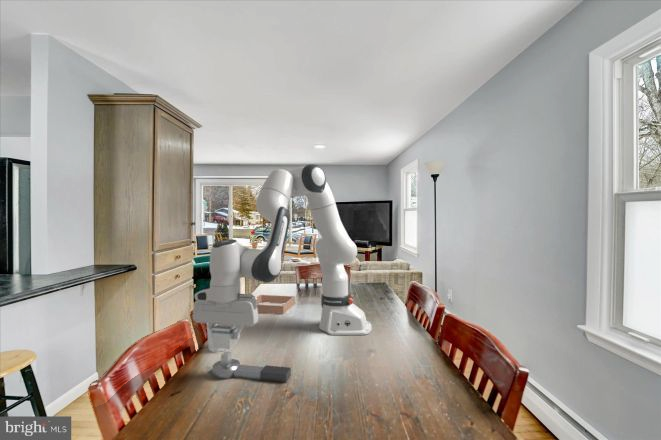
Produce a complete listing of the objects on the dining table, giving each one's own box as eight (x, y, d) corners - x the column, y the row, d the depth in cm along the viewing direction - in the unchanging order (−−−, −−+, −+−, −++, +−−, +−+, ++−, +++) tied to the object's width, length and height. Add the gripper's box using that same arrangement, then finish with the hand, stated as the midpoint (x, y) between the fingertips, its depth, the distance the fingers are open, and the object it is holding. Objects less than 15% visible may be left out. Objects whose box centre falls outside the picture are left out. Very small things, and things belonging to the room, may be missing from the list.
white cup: (208, 354, 111) (208, 326, 110) (205, 346, 118) (205, 319, 117) (231, 350, 114) (231, 322, 114) (227, 342, 121) (227, 316, 121)
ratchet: (292, 372, 98) (292, 353, 98) (284, 386, 90) (283, 365, 90) (221, 365, 103) (221, 347, 103) (207, 378, 95) (206, 358, 95)
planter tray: (295, 303, 173) (295, 296, 173) (283, 314, 155) (283, 306, 155) (260, 301, 177) (260, 294, 177) (245, 312, 159) (244, 304, 158)
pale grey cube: (239, 341, 100) (239, 322, 100) (229, 349, 94) (229, 329, 94) (222, 340, 101) (222, 321, 101) (212, 347, 95) (211, 328, 95)
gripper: (261, 292, 99) (261, 336, 99) (201, 289, 103) (202, 331, 103) (252, 297, 92) (253, 344, 93) (189, 294, 96) (190, 339, 97)
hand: (225, 337), depth 98 cm, fingers closed on pale grey cube, 6 cm apart
